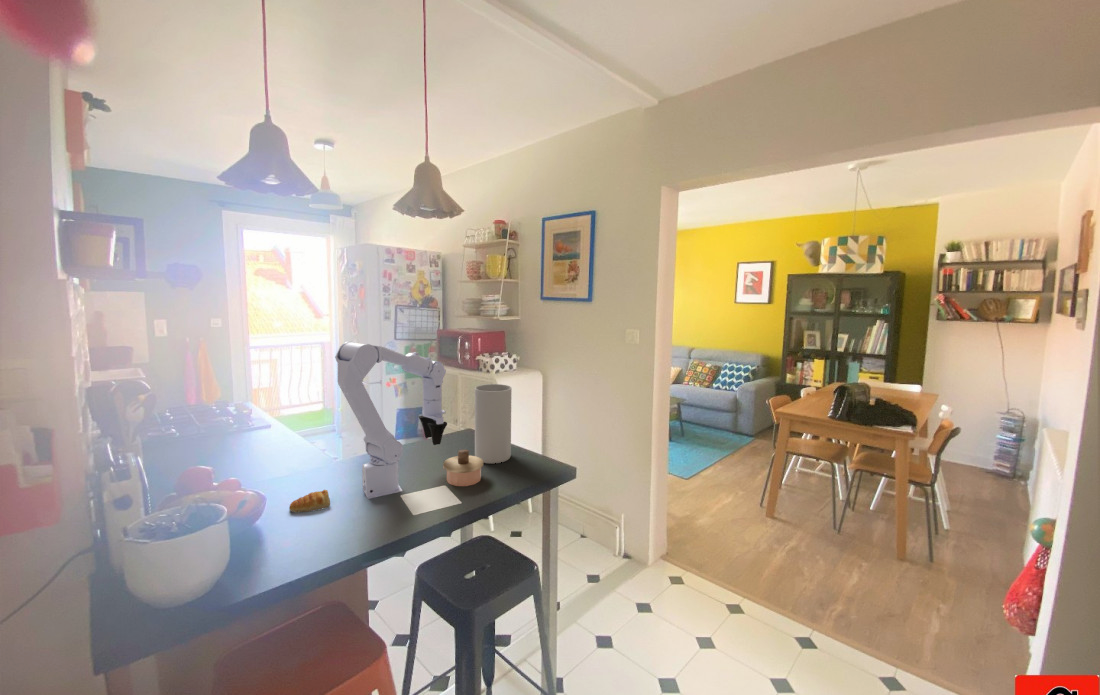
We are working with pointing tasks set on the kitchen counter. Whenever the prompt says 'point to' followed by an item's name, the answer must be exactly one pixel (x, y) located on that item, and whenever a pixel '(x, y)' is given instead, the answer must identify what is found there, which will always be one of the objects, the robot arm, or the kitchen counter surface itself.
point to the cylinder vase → (493, 423)
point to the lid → (463, 463)
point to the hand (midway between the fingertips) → (432, 440)
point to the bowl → (464, 478)
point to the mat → (430, 500)
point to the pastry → (311, 502)
